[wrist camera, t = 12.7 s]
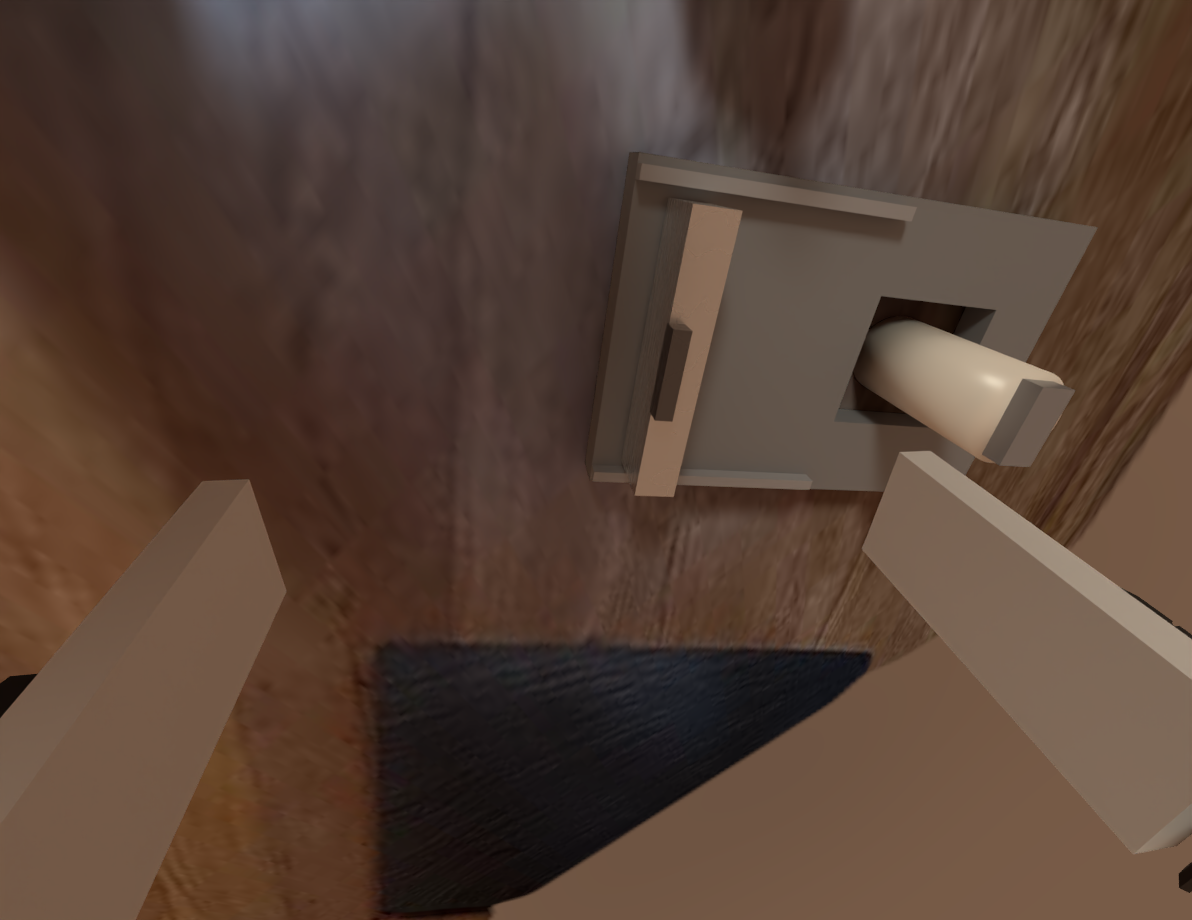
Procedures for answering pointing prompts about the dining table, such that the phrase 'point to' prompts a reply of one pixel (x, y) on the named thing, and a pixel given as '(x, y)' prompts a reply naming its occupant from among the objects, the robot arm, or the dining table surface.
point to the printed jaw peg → (963, 389)
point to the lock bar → (677, 340)
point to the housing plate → (815, 318)
